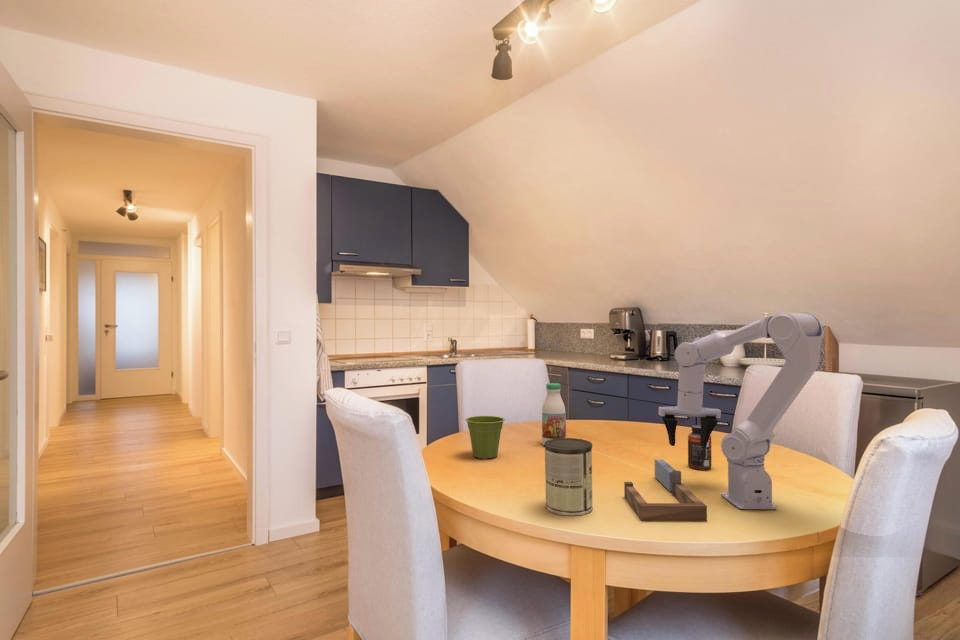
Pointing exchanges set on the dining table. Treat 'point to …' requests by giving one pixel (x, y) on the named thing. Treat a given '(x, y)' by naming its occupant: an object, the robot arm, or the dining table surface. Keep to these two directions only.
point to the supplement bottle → (698, 450)
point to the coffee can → (568, 476)
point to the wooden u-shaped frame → (668, 504)
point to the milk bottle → (553, 414)
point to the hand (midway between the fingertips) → (687, 445)
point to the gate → (663, 473)
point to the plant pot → (485, 435)
